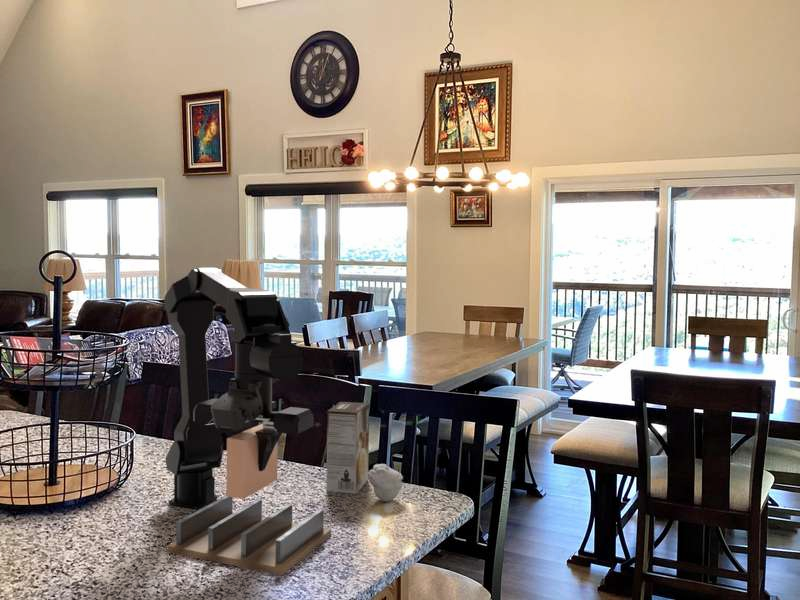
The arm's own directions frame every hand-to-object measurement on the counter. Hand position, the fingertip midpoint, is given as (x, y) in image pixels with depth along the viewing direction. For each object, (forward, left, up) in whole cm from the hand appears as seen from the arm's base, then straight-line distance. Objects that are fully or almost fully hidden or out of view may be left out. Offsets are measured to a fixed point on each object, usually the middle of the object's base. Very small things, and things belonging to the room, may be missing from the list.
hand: (252, 469), depth 114 cm
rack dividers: (0, 0, -12) cm, 12 cm away
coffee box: (+2, +32, -12) cm, 34 cm away
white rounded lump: (+12, +27, -12) cm, 32 cm away
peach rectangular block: (0, 0, -3) cm, 3 cm away
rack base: (0, 0, -12) cm, 12 cm away
